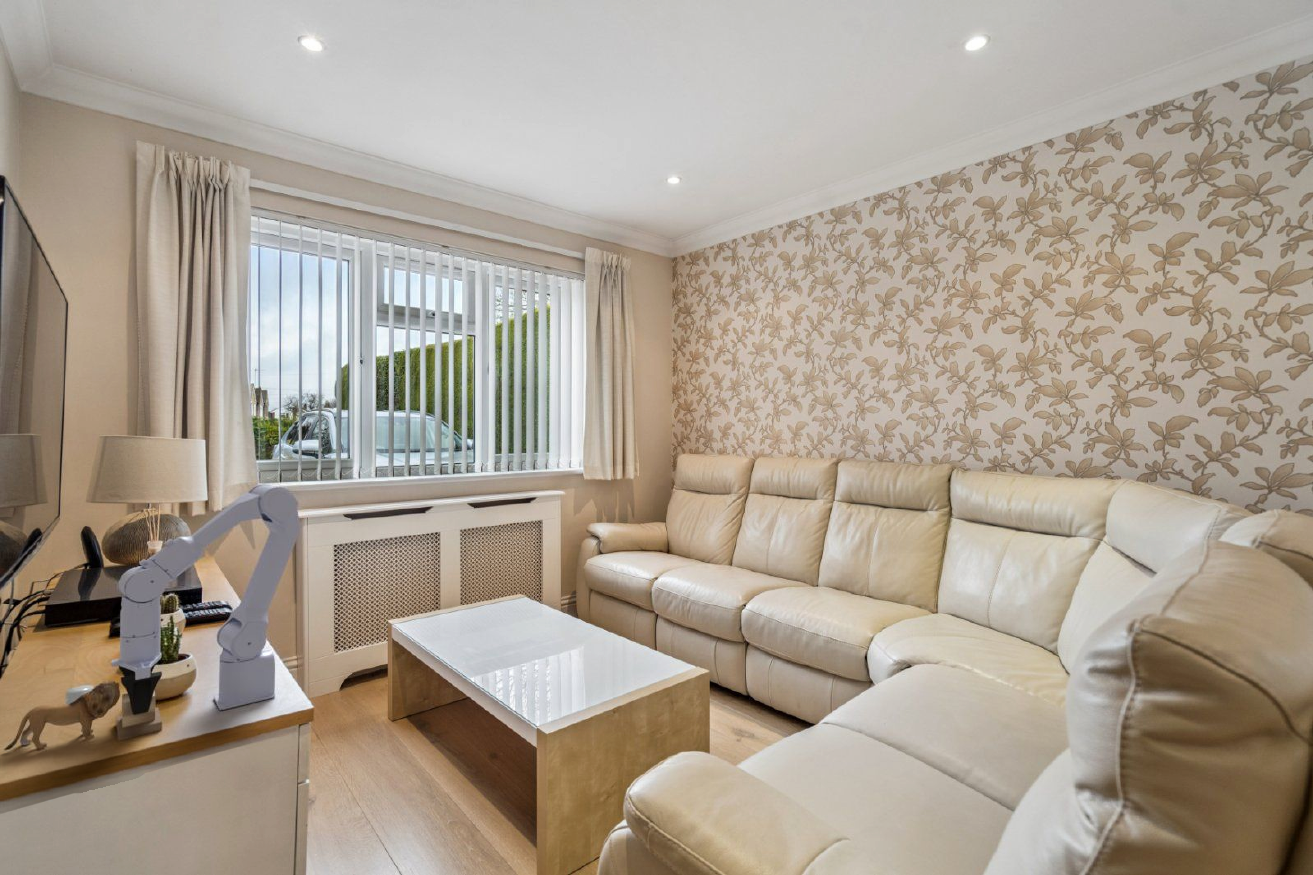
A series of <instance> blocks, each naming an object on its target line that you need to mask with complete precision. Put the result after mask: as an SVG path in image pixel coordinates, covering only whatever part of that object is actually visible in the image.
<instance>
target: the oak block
mask: <svg viewBox="0 0 1313 875" xmlns="http://www.w3.org/2000/svg"><path fill="white" fill-rule="evenodd" d="M155 691H156V690H154V693H153V696H152V701H151V705H150V708H149V711H148V712H145V713H141V714H137V715H133V713H132V709H131V704H130V699H129V695H128V693H127V692H126V693H123V694H121V697H122V698H121V715H122V726H123V727H127V726H132V725H136V724H140V723H145V722H149V721H153V720H155V708H156V692H155Z"/></svg>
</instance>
